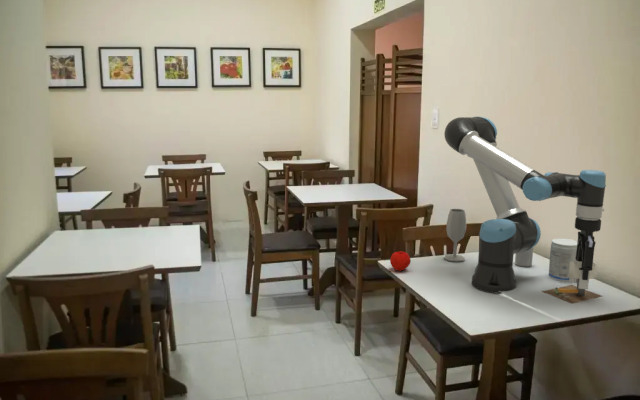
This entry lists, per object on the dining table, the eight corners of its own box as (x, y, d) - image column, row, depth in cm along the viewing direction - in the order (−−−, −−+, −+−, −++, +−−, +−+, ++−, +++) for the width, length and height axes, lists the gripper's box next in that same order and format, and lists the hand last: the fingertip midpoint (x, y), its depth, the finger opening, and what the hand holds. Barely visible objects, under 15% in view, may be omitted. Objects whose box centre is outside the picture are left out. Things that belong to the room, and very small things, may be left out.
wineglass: (467, 262, 210) (470, 212, 206) (446, 262, 210) (449, 212, 206) (462, 256, 219) (465, 207, 215) (441, 256, 219) (444, 207, 215)
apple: (405, 274, 195) (406, 256, 193) (386, 271, 199) (386, 252, 197) (413, 269, 202) (413, 250, 200) (394, 265, 205) (394, 247, 204)
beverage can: (533, 268, 204) (535, 238, 202) (516, 266, 205) (518, 237, 203) (530, 263, 210) (532, 234, 208) (513, 262, 211) (515, 233, 209)
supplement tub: (562, 274, 197) (565, 237, 194) (582, 282, 188) (586, 243, 185) (542, 277, 193) (545, 239, 190) (561, 285, 184) (565, 246, 182)
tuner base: (572, 306, 165) (572, 301, 165) (541, 294, 176) (541, 289, 176) (602, 299, 172) (603, 294, 172) (571, 287, 183) (571, 283, 182)
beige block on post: (560, 295, 172) (563, 263, 170) (556, 292, 174) (560, 260, 172) (595, 295, 171) (599, 263, 169) (591, 293, 174) (595, 261, 172)
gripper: (608, 224, 158) (600, 296, 163) (594, 212, 175) (587, 277, 180) (581, 223, 160) (574, 293, 165) (570, 211, 177) (564, 275, 182)
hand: (581, 285), depth 172 cm, fingers open, 5 cm apart
